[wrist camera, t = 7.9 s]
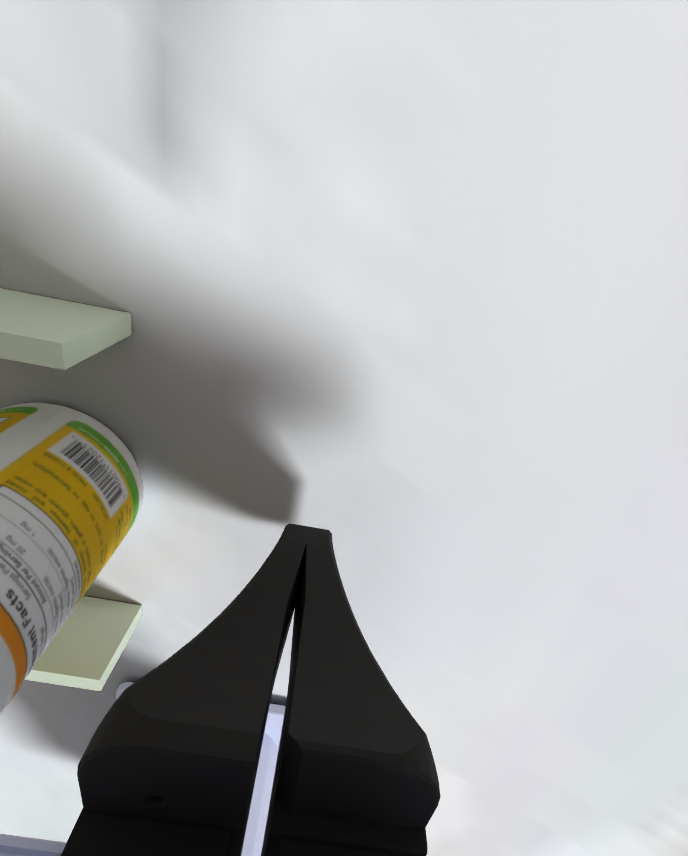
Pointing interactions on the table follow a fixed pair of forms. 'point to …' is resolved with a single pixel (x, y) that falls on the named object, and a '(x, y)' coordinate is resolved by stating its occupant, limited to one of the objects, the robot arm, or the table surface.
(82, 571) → the supplement bottle
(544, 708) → the table surface
